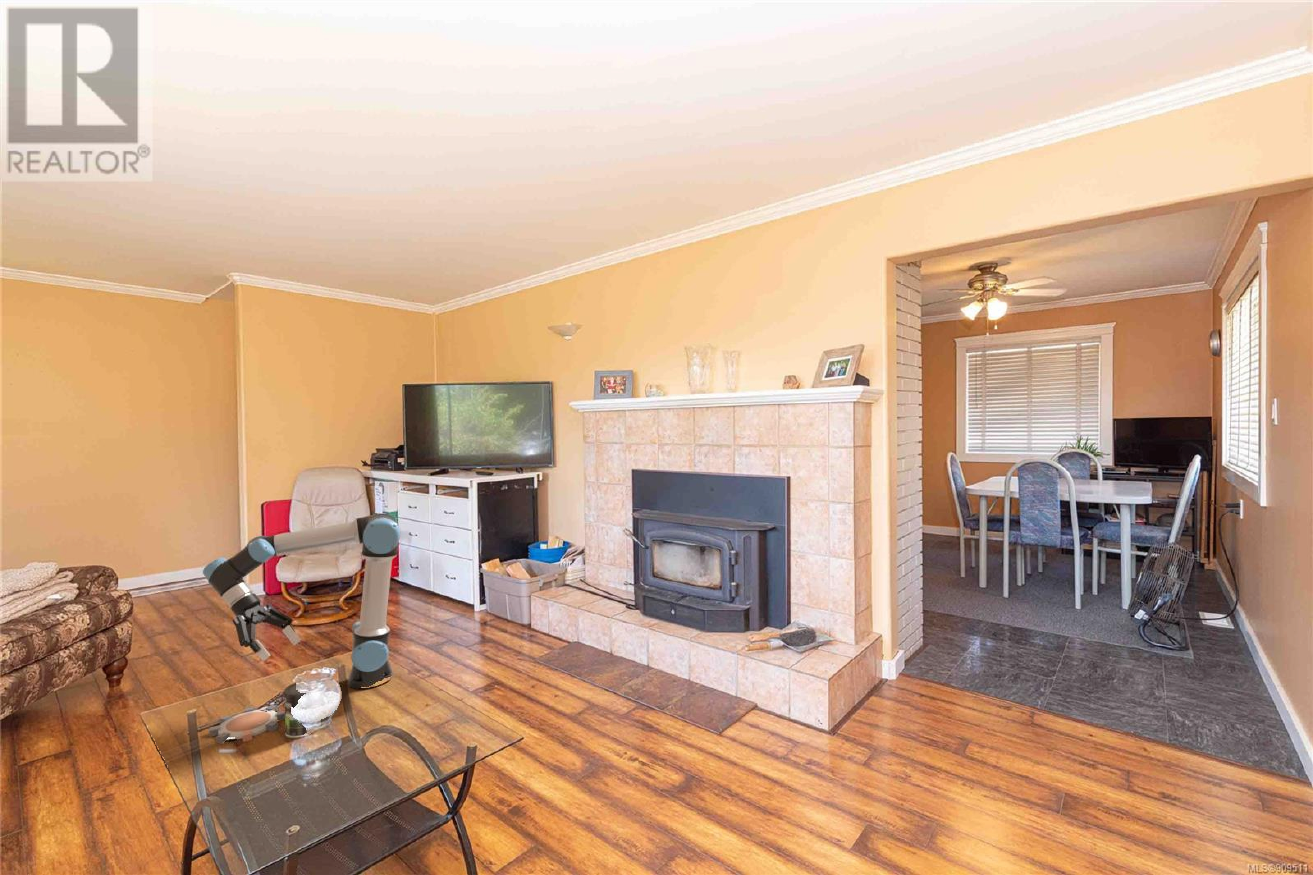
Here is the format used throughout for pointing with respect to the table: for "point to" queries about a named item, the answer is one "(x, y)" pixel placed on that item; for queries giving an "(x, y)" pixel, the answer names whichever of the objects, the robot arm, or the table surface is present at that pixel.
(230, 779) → the table surface
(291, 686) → the coffee can
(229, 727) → the sprocket plate
